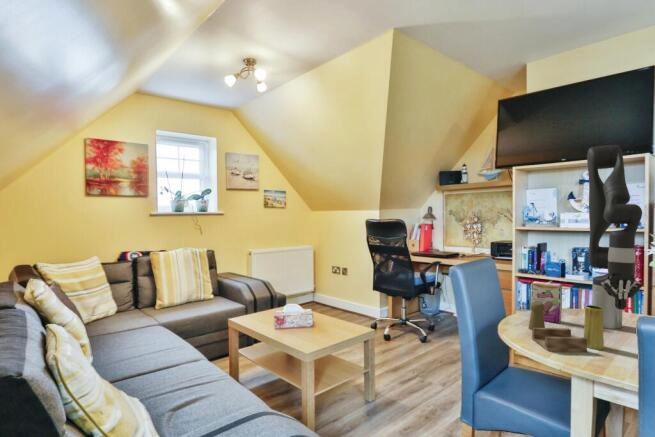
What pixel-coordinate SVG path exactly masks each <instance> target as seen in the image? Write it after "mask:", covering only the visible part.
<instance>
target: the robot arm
mask: <svg viewBox="0 0 655 437" xmlns="http://www.w3.org/2000/svg"><path fill="white" fill-rule="evenodd" d="M586 154H587V155H586V156H587V157H586V162H587V164H586V165H587V172H588V183H589V184H588V187H589V188H588V190H589V192H588V215H589V218H588V219H589V244H588V245H589V248H588V263H589V266H590V267H591V268H593V269H594V268H595V269H602V270H607V274H603V275H597V276H596V275H595V276H594V277H593V278H592V294H591V295H592V300H591V301H592V302H591V303H592V304H591V305H594V306H599V307H602V308H603V329H609V330H616V329H622V328H623V310H626V308H627V299H630V298H633V297H634V296H635V295H636V293H638V292H639V291H640V290H641V288H642V287H643V284H641V283H639V282H637V281H636V278H635V275H636V251H635V250H636V249H635V247H636V246H635V244H636V234H637V231H638V227H639V225H640V222H641V220H642V216H643V210H642V208H641V206H639V205H638V204H636V203H629V202H630V200H631V195H630V191H629V189H628V186H627V183H626V182H627V181H626V173H625V163H624V155H623V151H622V149H621V146H620V145H617V144H607V145H600V146H592V147H590V148H589V149H588V150H587V153H586ZM602 169H604V170H606V169H613V170H612V171H611V173H610V174H609V175H608V176H607V177H606V179H605V181H603V180H602V179H601V177H600V173H599V170H602ZM612 225H626V226H625V227H624V228H623V229H618V230H617V229H616V230H613V231H610V233H609V236H608V238H609V239H608V240H609V241H608V246H600V242H601V239H602V237H603V235H605V233H606V231H607V230H608V229H609V228H610V226H612Z"/></svg>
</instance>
